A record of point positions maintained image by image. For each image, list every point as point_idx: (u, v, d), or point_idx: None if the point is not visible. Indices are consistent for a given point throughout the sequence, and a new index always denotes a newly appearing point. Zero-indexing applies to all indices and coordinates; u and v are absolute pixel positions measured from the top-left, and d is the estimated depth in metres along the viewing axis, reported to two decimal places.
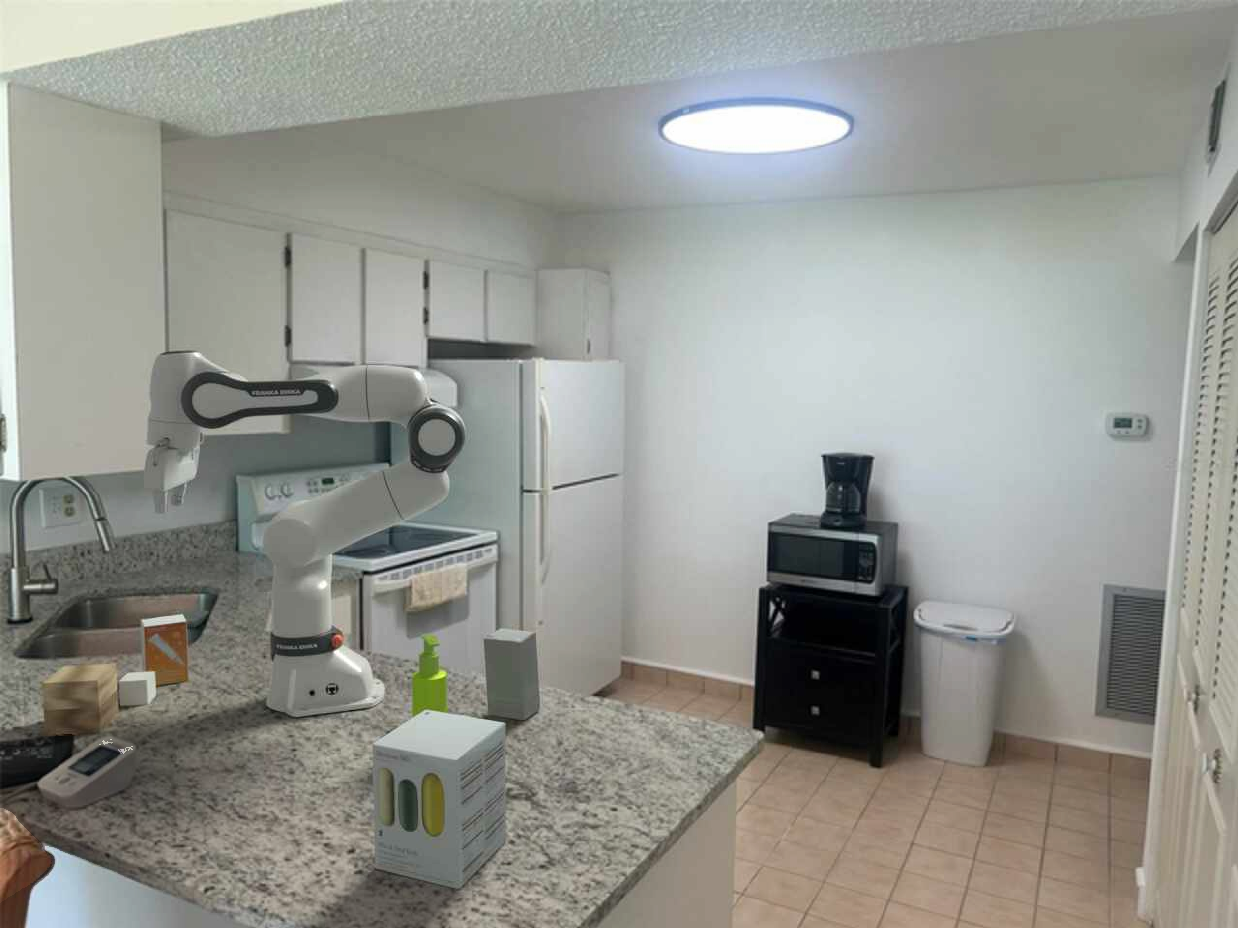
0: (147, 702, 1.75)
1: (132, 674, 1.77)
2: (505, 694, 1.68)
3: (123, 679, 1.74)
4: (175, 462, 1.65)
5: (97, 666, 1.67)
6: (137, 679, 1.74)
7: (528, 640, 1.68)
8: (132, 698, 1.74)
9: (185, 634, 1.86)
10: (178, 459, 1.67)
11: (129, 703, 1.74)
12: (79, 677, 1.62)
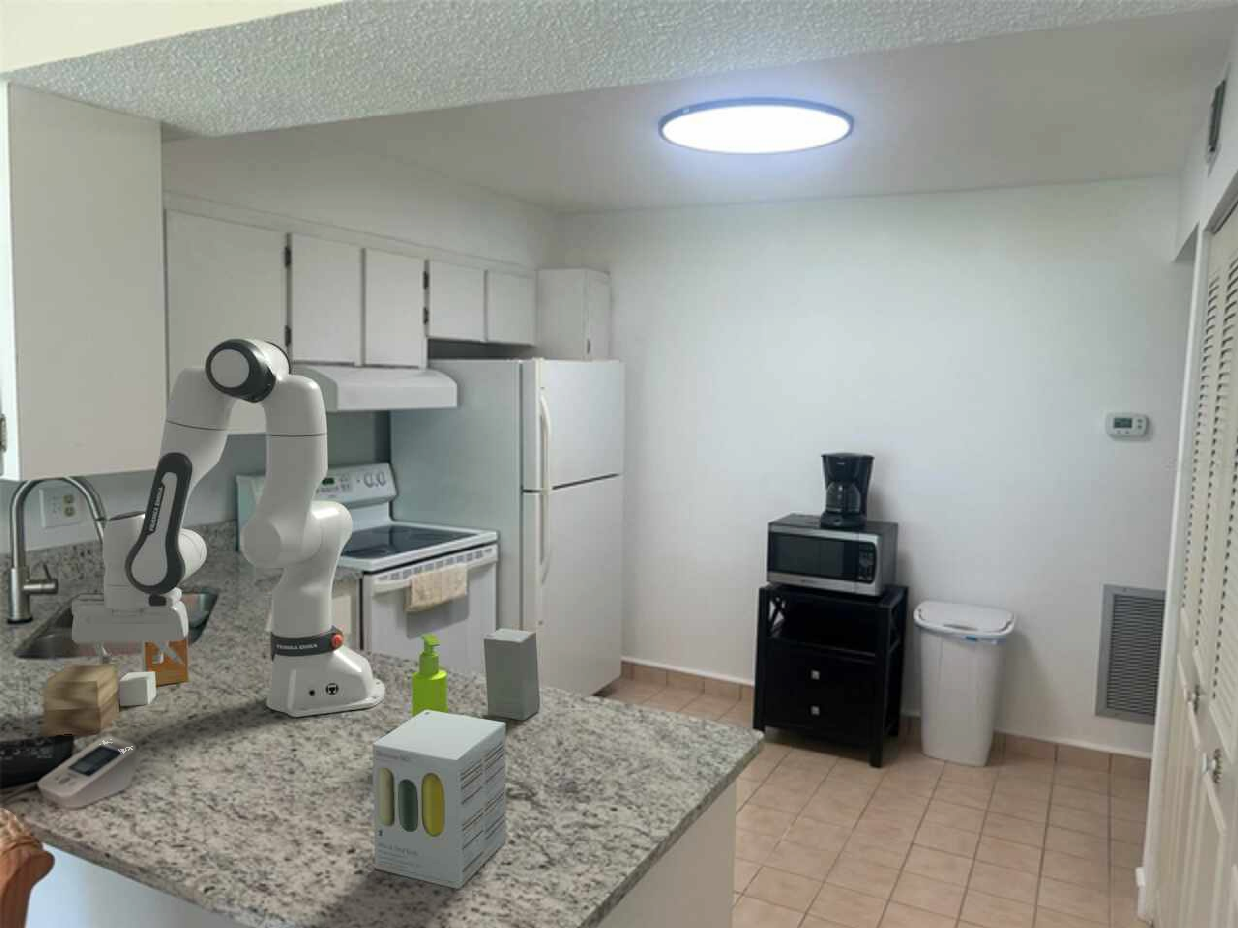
0: (147, 702, 1.75)
1: (132, 674, 1.77)
2: (505, 694, 1.68)
3: (123, 679, 1.74)
4: (109, 619, 1.72)
5: (98, 666, 1.67)
6: (137, 679, 1.74)
7: (528, 640, 1.68)
8: (132, 698, 1.74)
9: None
10: (119, 617, 1.73)
11: (129, 703, 1.74)
12: (79, 677, 1.61)
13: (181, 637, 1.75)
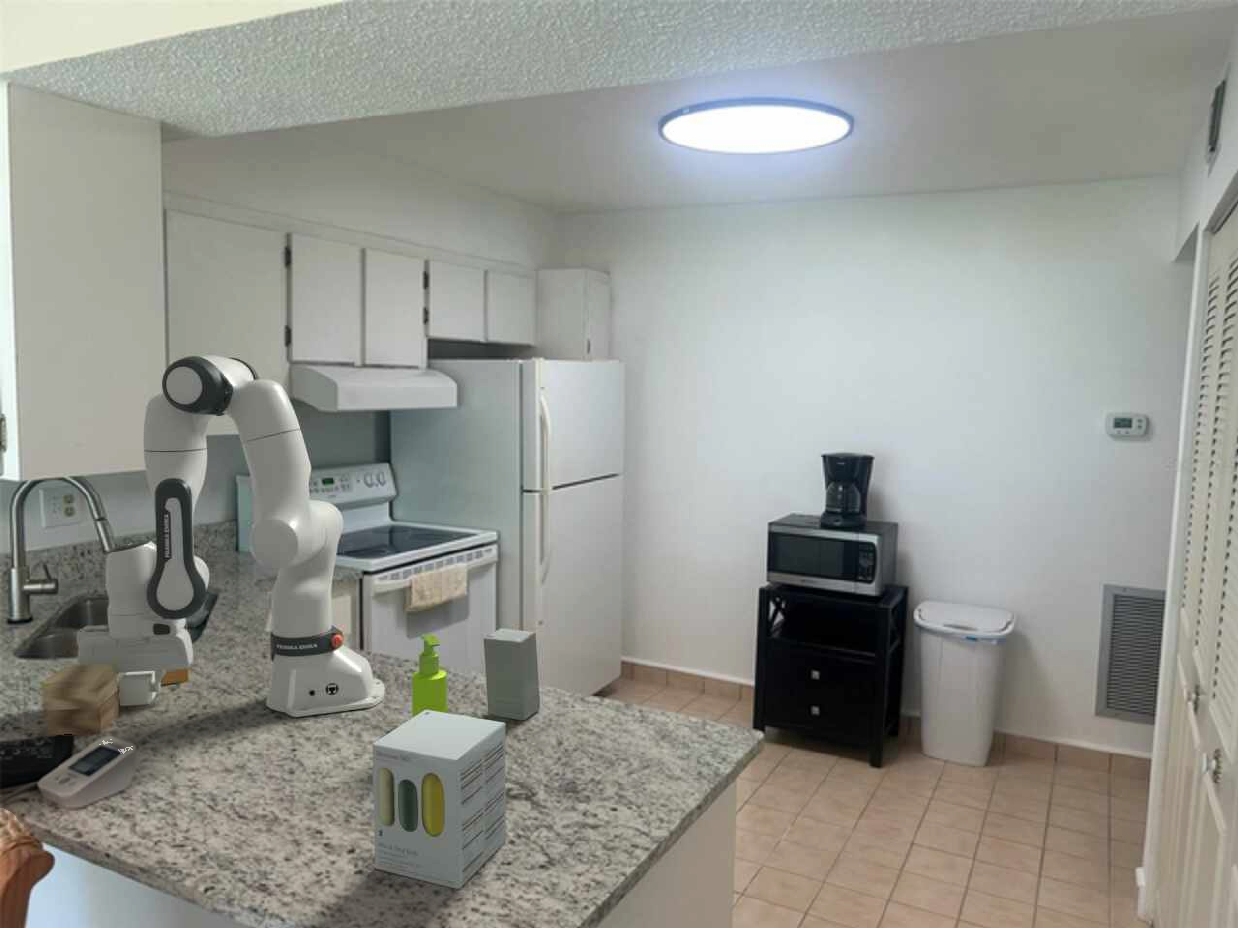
0: (147, 701, 1.75)
1: (132, 673, 1.77)
2: (505, 694, 1.68)
3: (123, 678, 1.74)
4: (114, 649, 1.73)
5: (97, 666, 1.67)
6: (137, 678, 1.74)
7: (528, 640, 1.68)
8: (132, 697, 1.74)
9: None
10: (124, 646, 1.74)
11: (129, 702, 1.74)
12: (79, 677, 1.61)
13: (186, 665, 1.76)
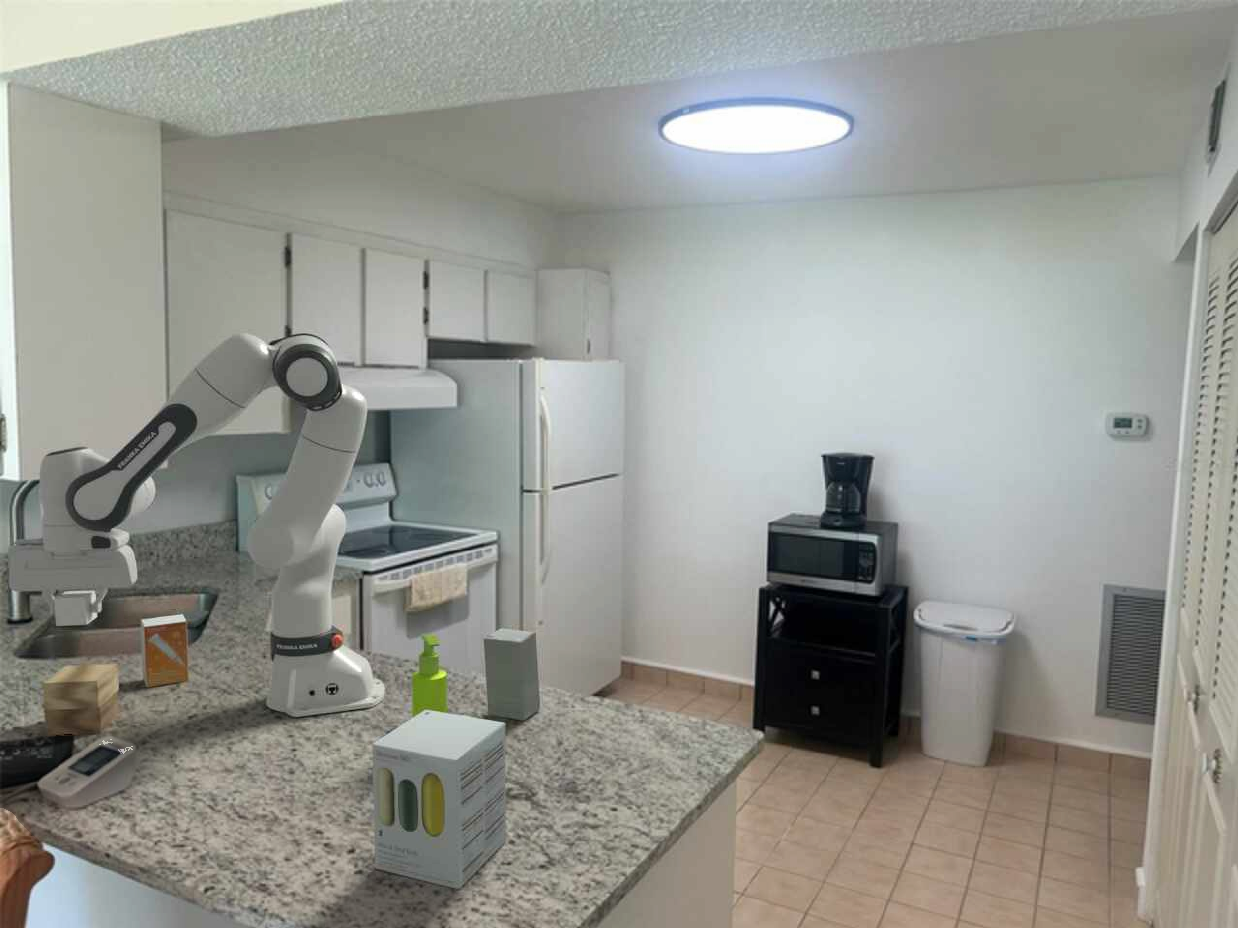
0: (86, 622, 1.61)
1: (70, 592, 1.63)
2: (505, 694, 1.68)
3: (59, 597, 1.60)
4: (50, 564, 1.59)
5: (98, 666, 1.67)
6: (74, 596, 1.60)
7: (528, 640, 1.68)
8: (69, 617, 1.60)
9: (185, 634, 1.86)
10: (60, 562, 1.60)
11: (66, 623, 1.60)
12: (80, 677, 1.62)
13: (129, 583, 1.62)
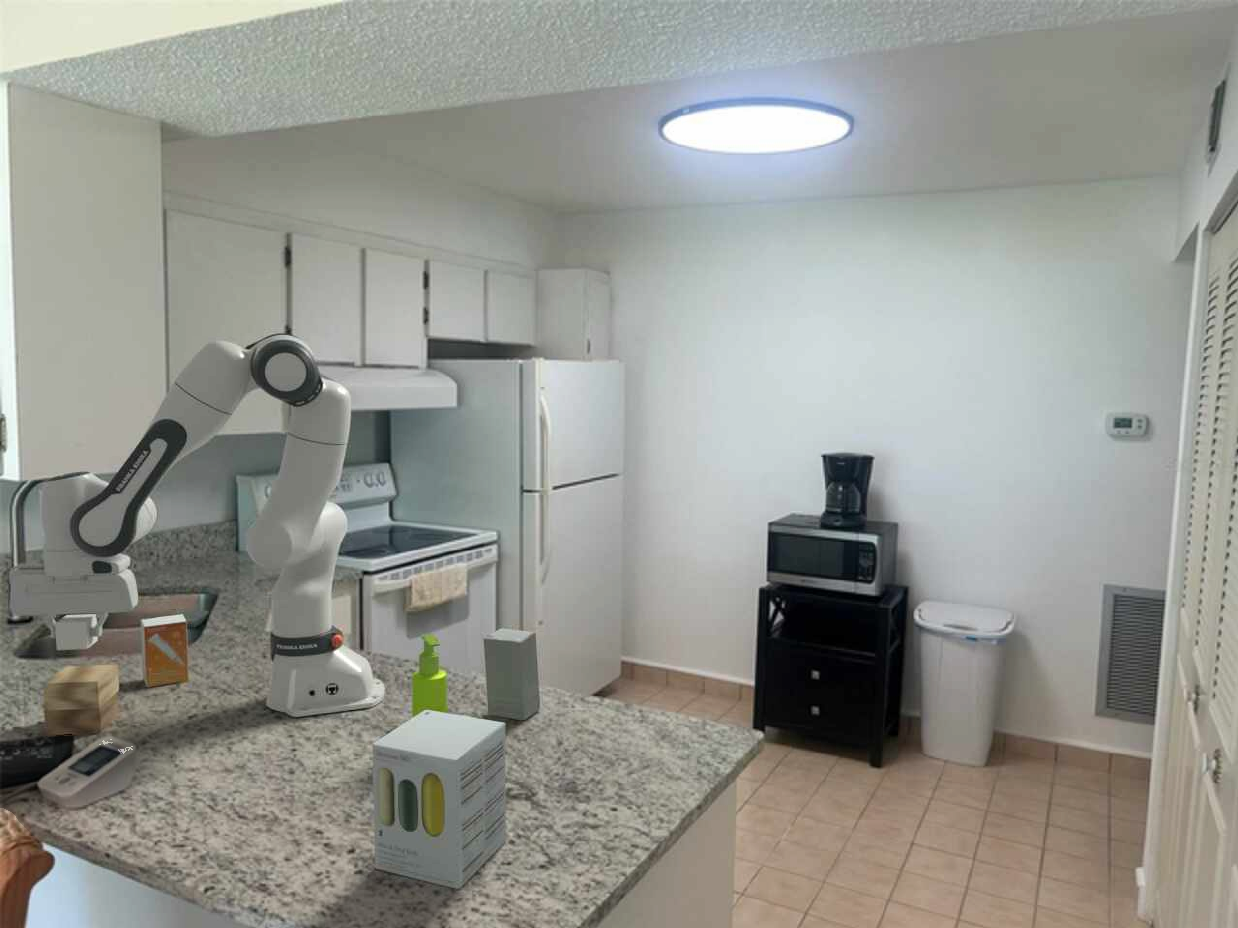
0: (86, 646, 1.61)
1: (71, 616, 1.64)
2: (505, 694, 1.68)
3: (60, 621, 1.61)
4: (51, 589, 1.60)
5: (99, 667, 1.67)
6: (75, 621, 1.61)
7: (528, 640, 1.68)
8: (70, 641, 1.60)
9: (185, 634, 1.86)
10: (61, 586, 1.60)
11: (67, 647, 1.60)
12: (80, 677, 1.61)
13: (129, 607, 1.62)
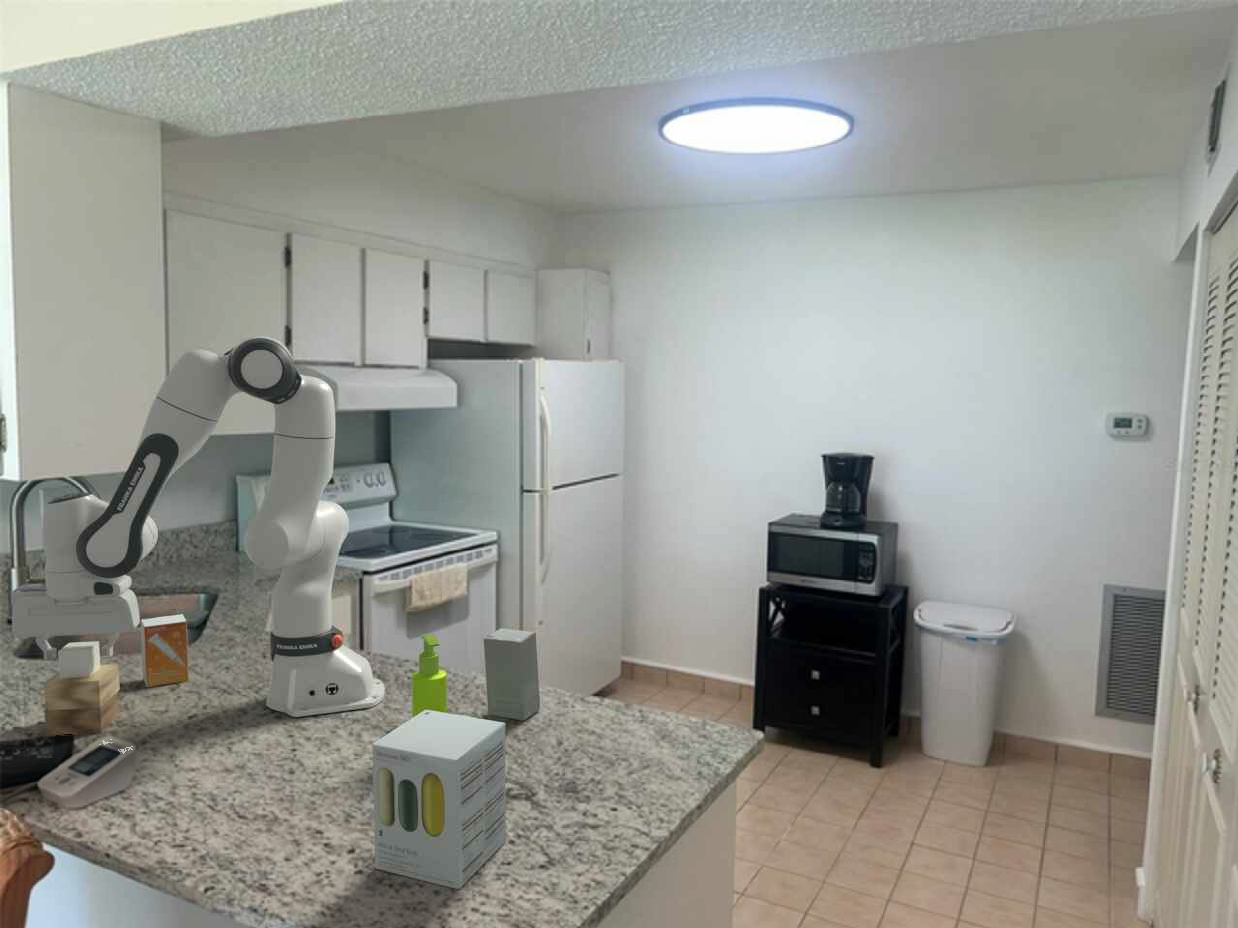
0: (89, 674, 1.62)
1: (74, 644, 1.64)
2: (505, 694, 1.68)
3: (63, 649, 1.61)
4: (53, 610, 1.60)
5: None
6: (78, 649, 1.61)
7: (528, 640, 1.68)
8: (73, 669, 1.61)
9: (185, 634, 1.86)
10: (63, 607, 1.60)
11: (69, 675, 1.61)
12: (81, 677, 1.61)
13: (131, 628, 1.63)
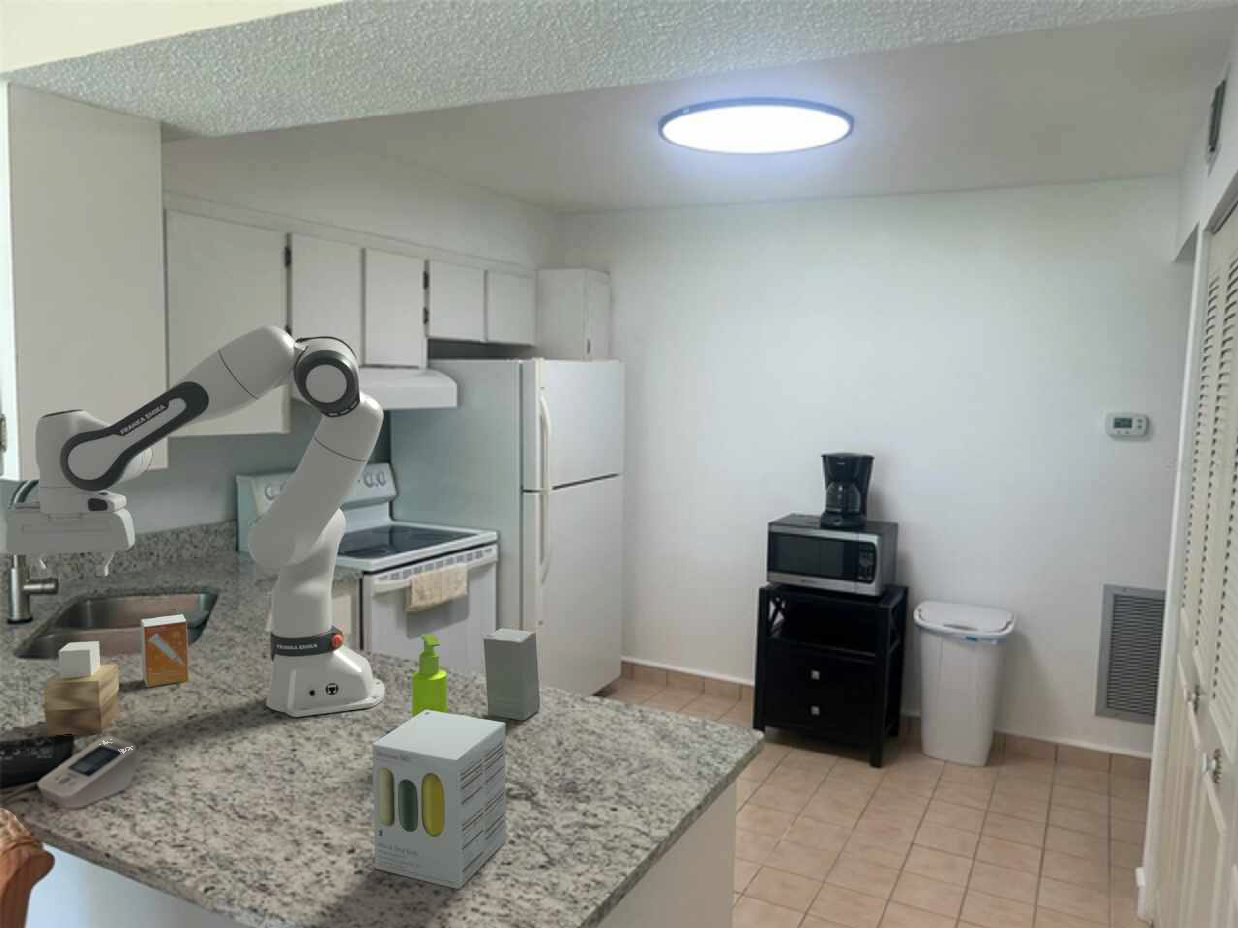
0: (90, 673, 1.62)
1: (74, 644, 1.64)
2: (505, 694, 1.68)
3: (63, 649, 1.61)
4: (47, 527, 1.58)
5: None
6: (79, 649, 1.62)
7: (528, 640, 1.68)
8: (73, 669, 1.61)
9: (185, 634, 1.86)
10: (57, 525, 1.59)
11: (70, 675, 1.61)
12: (80, 677, 1.61)
13: (126, 546, 1.61)
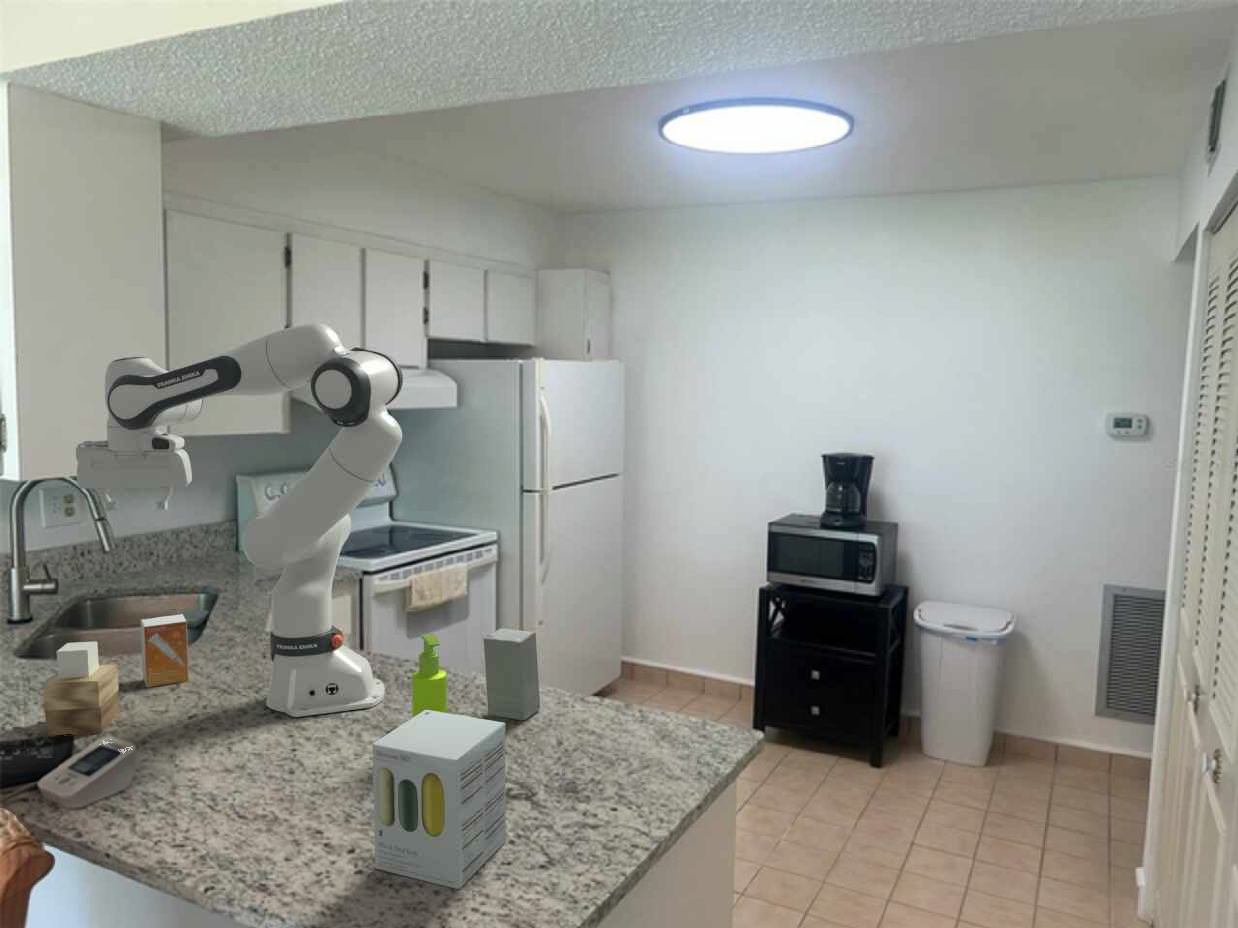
0: (88, 674, 1.62)
1: (72, 644, 1.64)
2: (505, 694, 1.68)
3: (61, 649, 1.61)
4: (114, 464, 1.74)
5: None
6: (77, 649, 1.61)
7: (528, 640, 1.68)
8: (71, 669, 1.61)
9: (185, 634, 1.86)
10: (123, 462, 1.74)
11: (68, 675, 1.61)
12: (80, 677, 1.61)
13: (185, 482, 1.77)
